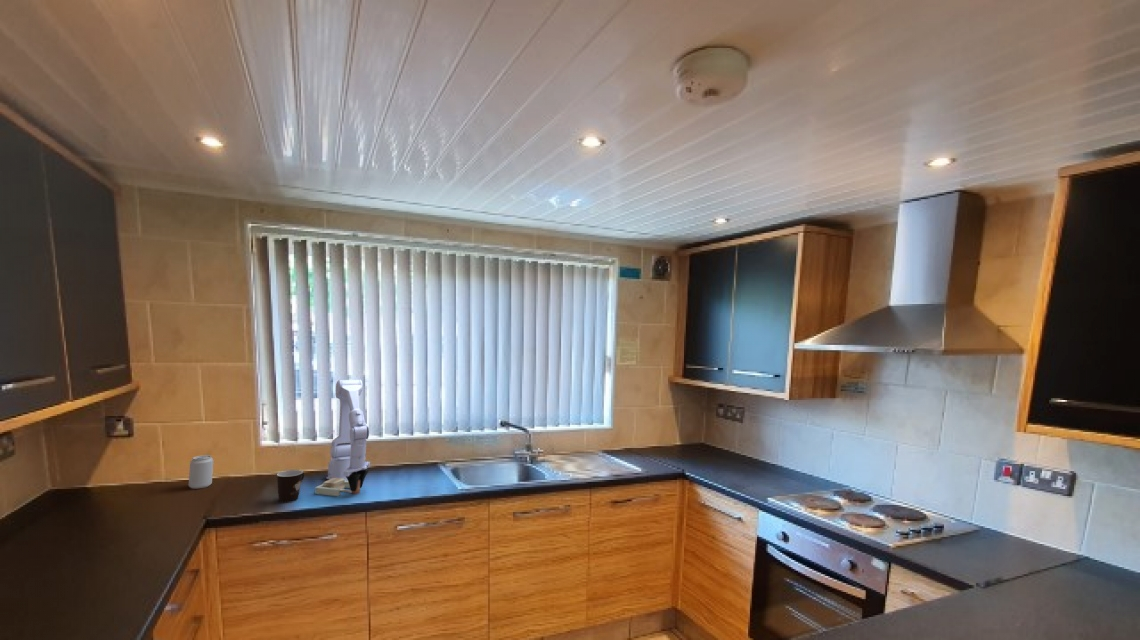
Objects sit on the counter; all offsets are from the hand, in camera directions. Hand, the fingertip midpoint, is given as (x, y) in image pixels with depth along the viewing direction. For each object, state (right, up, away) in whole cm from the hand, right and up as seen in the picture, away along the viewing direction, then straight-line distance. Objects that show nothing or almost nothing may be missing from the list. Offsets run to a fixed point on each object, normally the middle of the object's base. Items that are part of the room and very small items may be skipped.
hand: (356, 489), depth 188 cm
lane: (-9, -1, +2) cm, 9 cm away
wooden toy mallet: (-5, -1, +1) cm, 6 cm away
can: (-64, +1, 0) cm, 64 cm away
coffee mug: (-21, -1, -9) cm, 22 cm away
